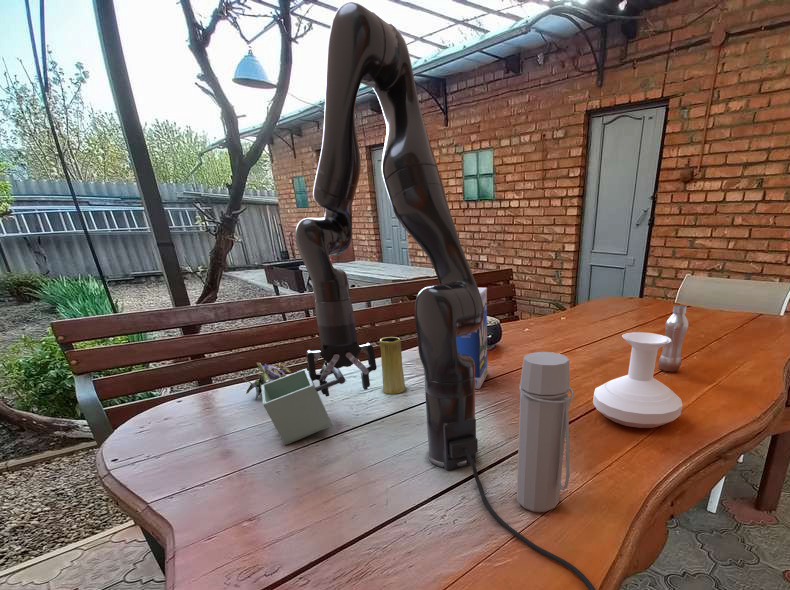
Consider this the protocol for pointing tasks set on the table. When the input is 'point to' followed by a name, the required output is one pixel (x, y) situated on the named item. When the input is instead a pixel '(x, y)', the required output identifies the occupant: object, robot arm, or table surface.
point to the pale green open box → (297, 404)
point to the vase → (392, 365)
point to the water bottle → (543, 430)
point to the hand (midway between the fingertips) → (346, 391)
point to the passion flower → (267, 376)
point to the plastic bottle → (674, 339)
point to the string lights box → (477, 345)
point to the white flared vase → (639, 388)
